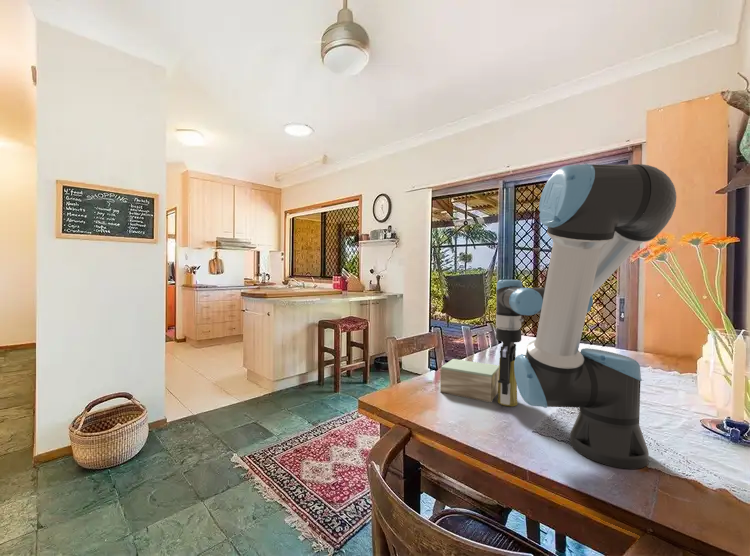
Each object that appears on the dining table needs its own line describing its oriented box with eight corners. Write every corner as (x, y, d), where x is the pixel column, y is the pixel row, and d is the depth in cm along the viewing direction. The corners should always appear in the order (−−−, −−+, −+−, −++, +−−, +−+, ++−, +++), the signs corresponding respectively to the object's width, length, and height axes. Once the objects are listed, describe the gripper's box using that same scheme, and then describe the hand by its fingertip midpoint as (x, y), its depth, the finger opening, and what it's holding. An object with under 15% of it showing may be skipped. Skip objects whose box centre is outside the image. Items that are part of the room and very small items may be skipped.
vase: (514, 399, 112) (515, 356, 111) (520, 407, 105) (521, 361, 105) (495, 398, 112) (495, 355, 112) (500, 406, 106) (500, 360, 106)
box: (491, 402, 109) (491, 377, 109) (440, 392, 118) (440, 369, 118) (499, 390, 120) (499, 367, 120) (452, 381, 129) (452, 360, 129)
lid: (491, 377, 109) (491, 374, 109) (441, 368, 118) (441, 366, 118) (499, 367, 120) (499, 365, 120) (452, 360, 129) (452, 358, 129)
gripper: (516, 334, 98) (514, 413, 98) (525, 325, 115) (524, 392, 115) (489, 331, 102) (488, 407, 102) (502, 323, 119) (501, 388, 119)
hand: (507, 399), depth 109 cm, fingers open, 7 cm apart
